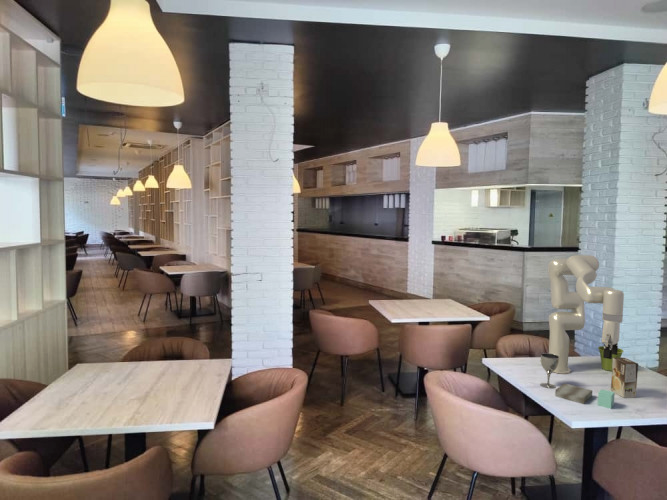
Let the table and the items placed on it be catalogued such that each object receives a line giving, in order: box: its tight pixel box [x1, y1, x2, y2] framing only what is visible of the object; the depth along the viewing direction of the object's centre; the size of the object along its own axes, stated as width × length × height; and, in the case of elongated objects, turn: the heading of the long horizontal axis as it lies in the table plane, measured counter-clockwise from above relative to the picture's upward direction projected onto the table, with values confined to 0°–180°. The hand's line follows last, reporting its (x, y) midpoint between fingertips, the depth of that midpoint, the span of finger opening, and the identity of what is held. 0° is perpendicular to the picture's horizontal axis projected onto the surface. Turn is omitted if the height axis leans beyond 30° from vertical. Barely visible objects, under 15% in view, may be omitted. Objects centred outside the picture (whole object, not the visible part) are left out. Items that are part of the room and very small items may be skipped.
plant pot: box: [597, 345, 624, 372], centre depth 246 cm, size 12×12×11 cm
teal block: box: [597, 388, 616, 409], centre depth 198 cm, size 5×5×6 cm
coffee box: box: [610, 357, 639, 399], centre depth 211 cm, size 9×6×16 cm
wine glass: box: [539, 352, 559, 390], centre depth 219 cm, size 8×8×15 cm
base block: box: [554, 383, 593, 405], centre depth 207 cm, size 12×12×3 cm
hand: (610, 356), depth 199 cm, fingers open, 9 cm apart
